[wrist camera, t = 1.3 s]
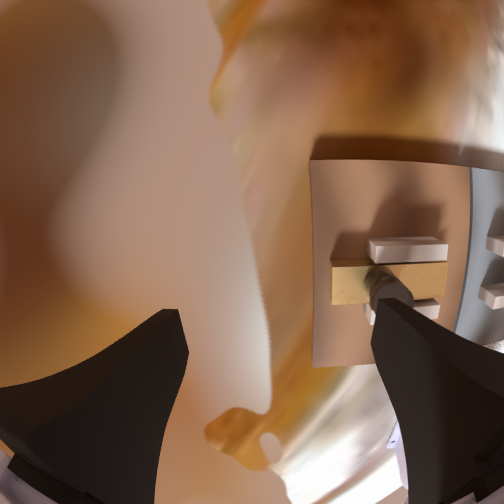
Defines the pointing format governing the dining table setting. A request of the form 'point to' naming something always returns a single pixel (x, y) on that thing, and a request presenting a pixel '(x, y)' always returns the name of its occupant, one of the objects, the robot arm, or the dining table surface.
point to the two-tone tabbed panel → (407, 246)
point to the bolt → (385, 281)
